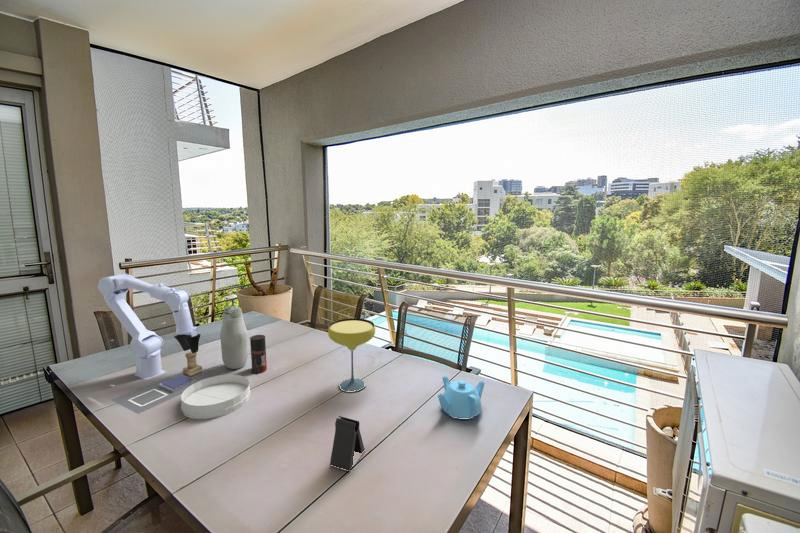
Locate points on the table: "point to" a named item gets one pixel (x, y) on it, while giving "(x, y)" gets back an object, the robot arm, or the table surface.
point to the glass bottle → (234, 338)
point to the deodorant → (258, 353)
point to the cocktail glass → (351, 342)
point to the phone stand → (346, 442)
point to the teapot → (461, 398)
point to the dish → (215, 396)
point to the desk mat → (154, 393)
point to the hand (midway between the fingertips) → (191, 351)
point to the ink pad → (177, 383)
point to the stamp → (192, 365)
